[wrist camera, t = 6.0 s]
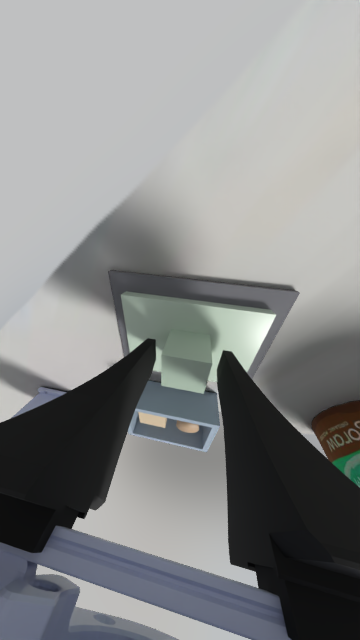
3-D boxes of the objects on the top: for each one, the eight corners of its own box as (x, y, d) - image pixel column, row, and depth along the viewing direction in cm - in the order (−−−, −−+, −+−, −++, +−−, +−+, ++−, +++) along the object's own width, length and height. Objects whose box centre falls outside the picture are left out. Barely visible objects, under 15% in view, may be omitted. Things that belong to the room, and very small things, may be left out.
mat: (128, 362, 15) (126, 365, 14) (111, 270, 10) (108, 271, 9) (245, 383, 14) (247, 387, 13) (296, 290, 9) (299, 292, 8)
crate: (139, 407, 19) (128, 434, 17) (134, 377, 16) (120, 405, 13) (206, 421, 19) (206, 452, 16) (216, 393, 15) (219, 426, 12)
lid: (135, 360, 14) (116, 394, 11) (126, 291, 10) (92, 311, 7) (238, 379, 13) (249, 421, 10) (270, 309, 9) (306, 342, 6)
